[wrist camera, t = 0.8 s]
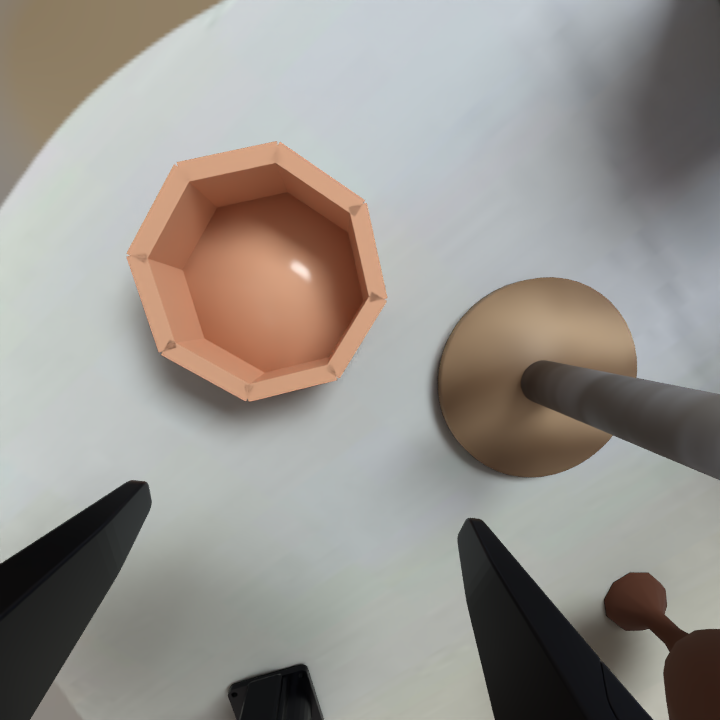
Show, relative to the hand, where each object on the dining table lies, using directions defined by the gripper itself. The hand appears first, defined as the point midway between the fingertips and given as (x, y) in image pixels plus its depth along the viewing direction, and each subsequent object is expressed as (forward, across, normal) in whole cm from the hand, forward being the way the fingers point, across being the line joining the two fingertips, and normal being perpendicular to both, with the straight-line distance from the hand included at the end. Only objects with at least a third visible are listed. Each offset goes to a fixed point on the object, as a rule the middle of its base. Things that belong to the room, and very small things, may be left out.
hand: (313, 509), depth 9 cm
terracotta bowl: (+15, +5, -2) cm, 16 cm away
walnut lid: (+14, -15, +2) cm, 21 cm away
